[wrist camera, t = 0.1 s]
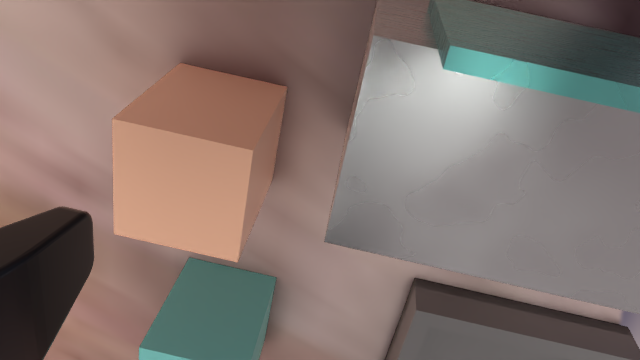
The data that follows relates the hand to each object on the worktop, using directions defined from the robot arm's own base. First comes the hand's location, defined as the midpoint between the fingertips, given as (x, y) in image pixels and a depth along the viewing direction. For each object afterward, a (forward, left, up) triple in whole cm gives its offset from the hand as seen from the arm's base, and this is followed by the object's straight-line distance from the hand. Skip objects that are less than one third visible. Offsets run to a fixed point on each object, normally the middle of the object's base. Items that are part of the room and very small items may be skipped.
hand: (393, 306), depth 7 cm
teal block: (-15, +5, -15) cm, 21 cm away
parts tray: (-16, -9, -14) cm, 23 cm away
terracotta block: (-5, +6, -15) cm, 16 cm away
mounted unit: (-1, -4, -14) cm, 15 cm away
